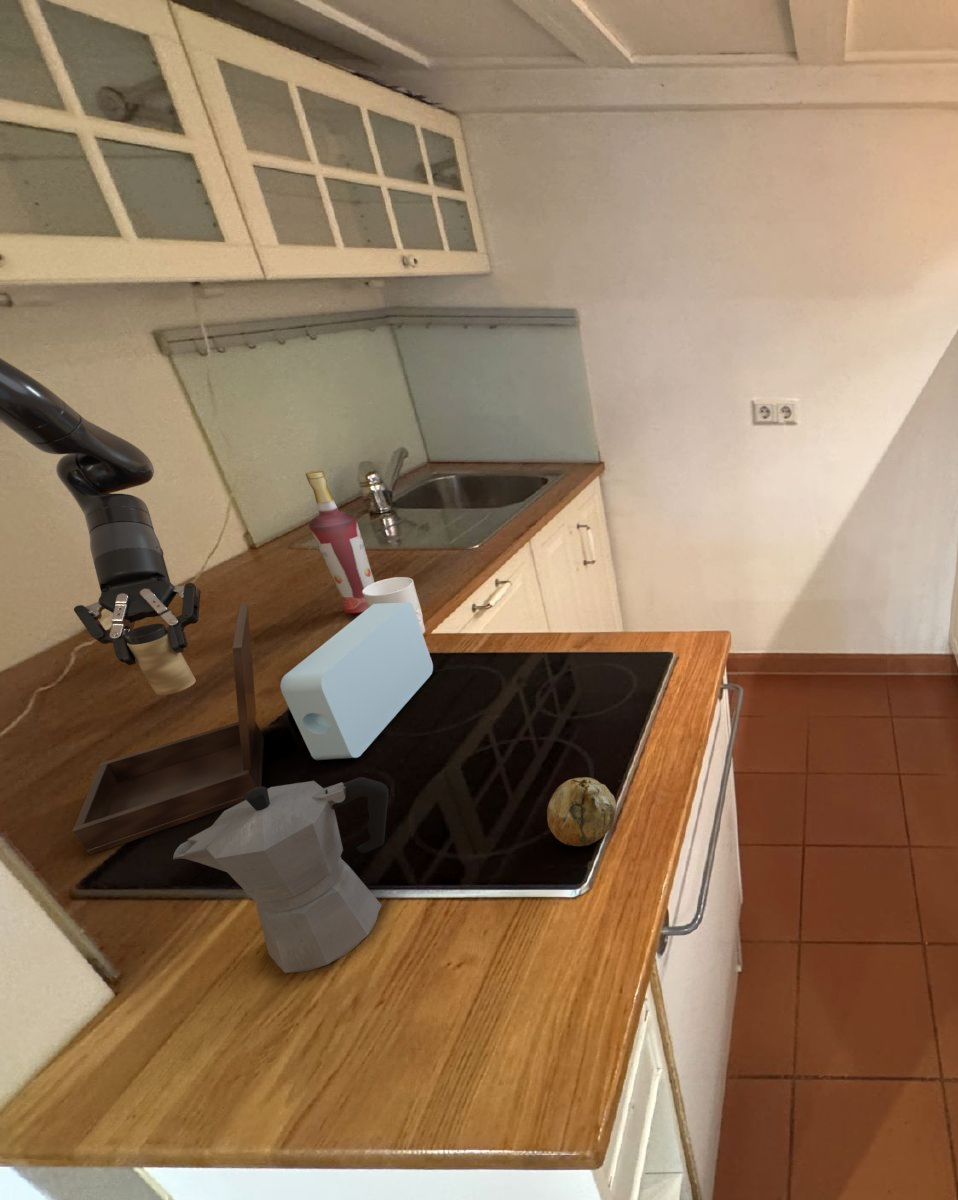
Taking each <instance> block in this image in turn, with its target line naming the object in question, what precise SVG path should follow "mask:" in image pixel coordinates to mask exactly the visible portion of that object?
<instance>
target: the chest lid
mask: <svg viewBox="0 0 958 1200" xmlns="http://www.w3.org/2000/svg"><path fill="white" fill-rule="evenodd" d="M235 624H236V625H235V630H234V635H233V642H232V646H231V648H232V661H233V673H234V674H233V675H234V684H235V695H236V696H235V697H236V706H237V707H236V708H237V718H238V722H239V731H240V742H241V754H242V765H243V770H248V769H251V768H252V757H253V745H254V734H255V722H256V723H257V720H256V719H257V708H256V705H257V704H256V696H255V695H256V693H255V682H254V669H253V655H252V643H251V629H250V617H249V605H248V604H239V607H238V612H237V619H236V623H235Z"/></svg>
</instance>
